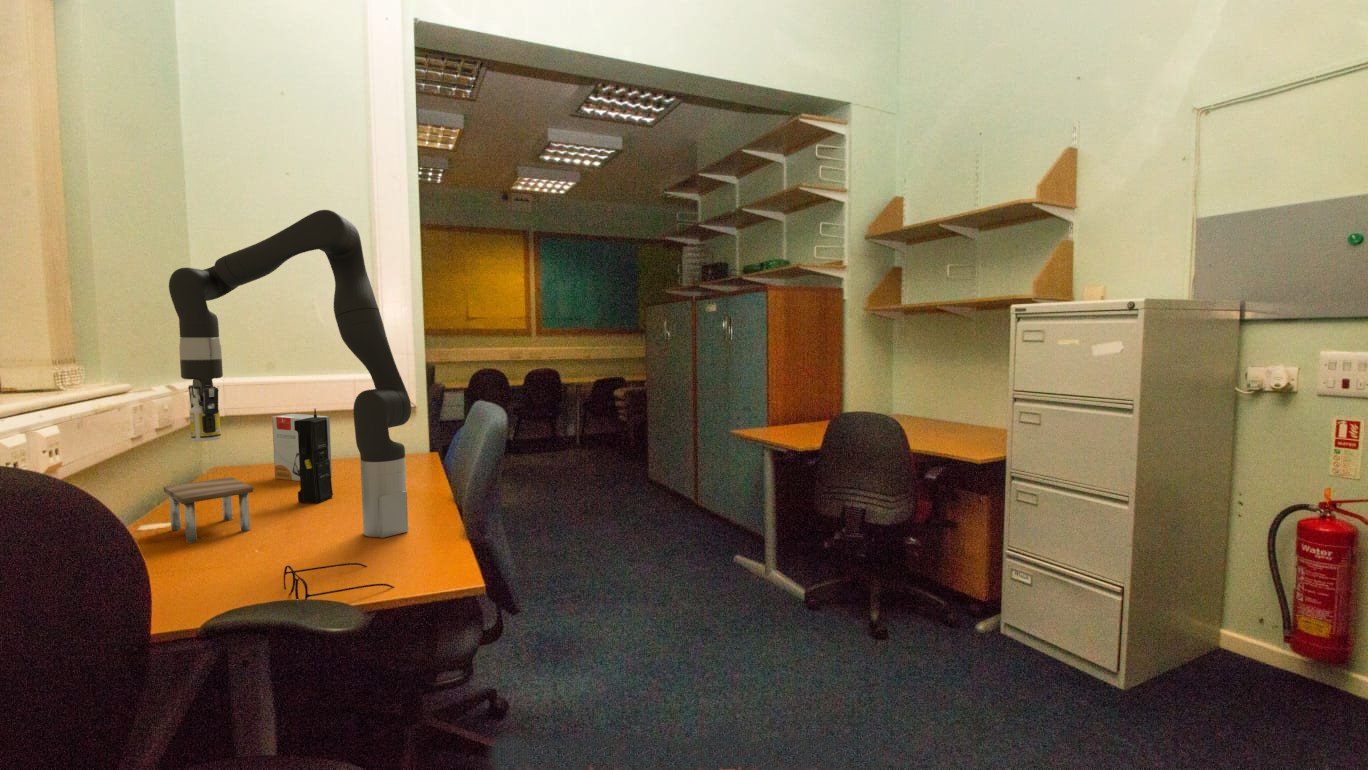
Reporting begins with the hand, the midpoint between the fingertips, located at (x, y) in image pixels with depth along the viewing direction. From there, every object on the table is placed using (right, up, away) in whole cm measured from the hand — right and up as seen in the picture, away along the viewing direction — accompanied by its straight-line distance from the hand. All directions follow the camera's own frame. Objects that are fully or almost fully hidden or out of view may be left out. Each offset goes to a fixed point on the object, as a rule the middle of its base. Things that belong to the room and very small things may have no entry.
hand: (205, 430), depth 141 cm
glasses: (+48, -27, -30) cm, 62 cm away
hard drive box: (-10, -19, +53) cm, 57 cm away
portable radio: (+9, -21, +27) cm, 36 cm away
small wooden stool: (0, -23, +2) cm, 23 cm away
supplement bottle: (0, -2, 0) cm, 2 cm away
